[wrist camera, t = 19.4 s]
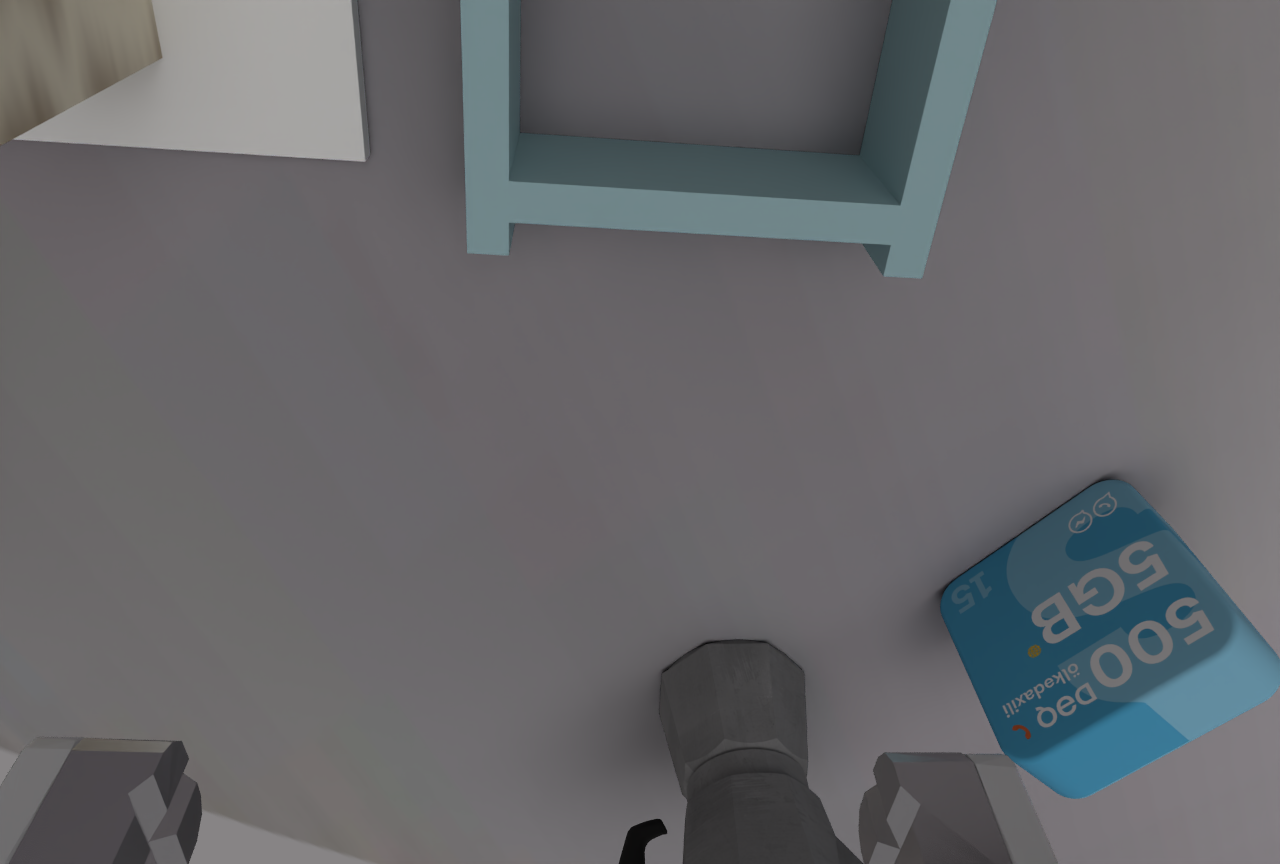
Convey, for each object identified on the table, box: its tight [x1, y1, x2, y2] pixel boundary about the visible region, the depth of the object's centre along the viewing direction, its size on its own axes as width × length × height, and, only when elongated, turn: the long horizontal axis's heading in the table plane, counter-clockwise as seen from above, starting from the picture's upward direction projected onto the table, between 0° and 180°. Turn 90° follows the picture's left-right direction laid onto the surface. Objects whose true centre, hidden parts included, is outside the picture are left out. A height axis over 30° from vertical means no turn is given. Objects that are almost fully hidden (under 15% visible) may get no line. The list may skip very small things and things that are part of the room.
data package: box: [940, 480, 1280, 799], centre depth 46 cm, size 12×4×12 cm, turn 137°
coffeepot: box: [619, 640, 863, 864], centre depth 48 cm, size 15×9×18 cm, turn 110°
